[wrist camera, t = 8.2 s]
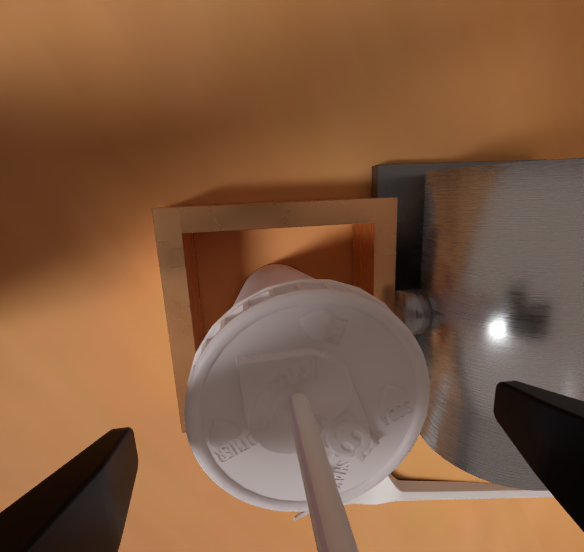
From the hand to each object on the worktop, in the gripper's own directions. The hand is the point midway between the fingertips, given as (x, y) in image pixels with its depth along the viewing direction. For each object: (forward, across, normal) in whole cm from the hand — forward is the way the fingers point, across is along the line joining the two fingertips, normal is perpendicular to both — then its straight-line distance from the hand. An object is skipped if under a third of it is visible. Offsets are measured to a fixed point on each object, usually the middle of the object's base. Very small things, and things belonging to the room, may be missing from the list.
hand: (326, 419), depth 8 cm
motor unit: (+10, -4, 0) cm, 11 cm away
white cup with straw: (+10, 0, 0) cm, 10 cm away
